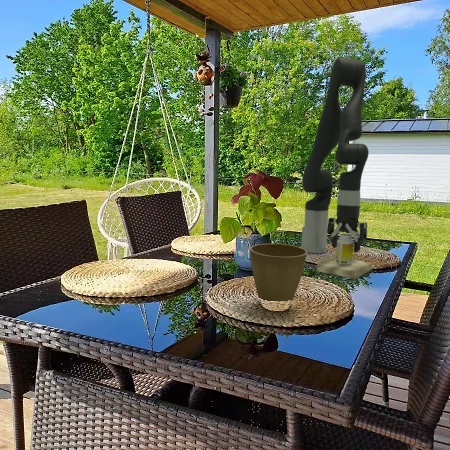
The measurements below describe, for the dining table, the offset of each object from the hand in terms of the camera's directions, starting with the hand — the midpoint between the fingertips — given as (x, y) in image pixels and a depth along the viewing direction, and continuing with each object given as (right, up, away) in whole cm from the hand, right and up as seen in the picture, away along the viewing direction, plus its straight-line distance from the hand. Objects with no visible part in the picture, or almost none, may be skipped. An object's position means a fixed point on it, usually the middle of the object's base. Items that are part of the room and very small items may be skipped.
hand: (345, 249), depth 159 cm
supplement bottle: (0, -5, +1) cm, 5 cm away
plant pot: (-28, -14, -35) cm, 47 cm away
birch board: (0, -7, +1) cm, 7 cm away
